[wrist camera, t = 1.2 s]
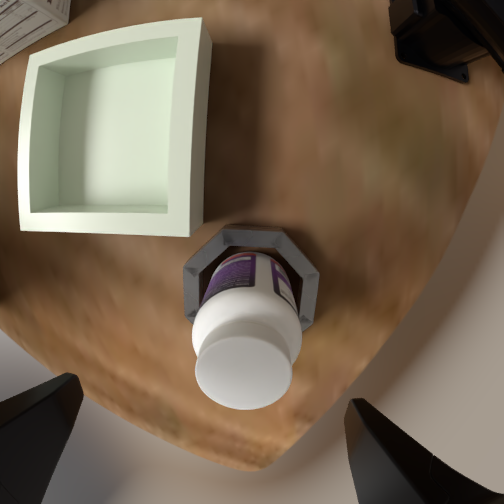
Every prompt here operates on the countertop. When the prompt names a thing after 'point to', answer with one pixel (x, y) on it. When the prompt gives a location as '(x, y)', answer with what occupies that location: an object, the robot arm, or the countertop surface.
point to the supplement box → (29, 22)
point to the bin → (117, 132)
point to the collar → (252, 238)
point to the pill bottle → (247, 333)
